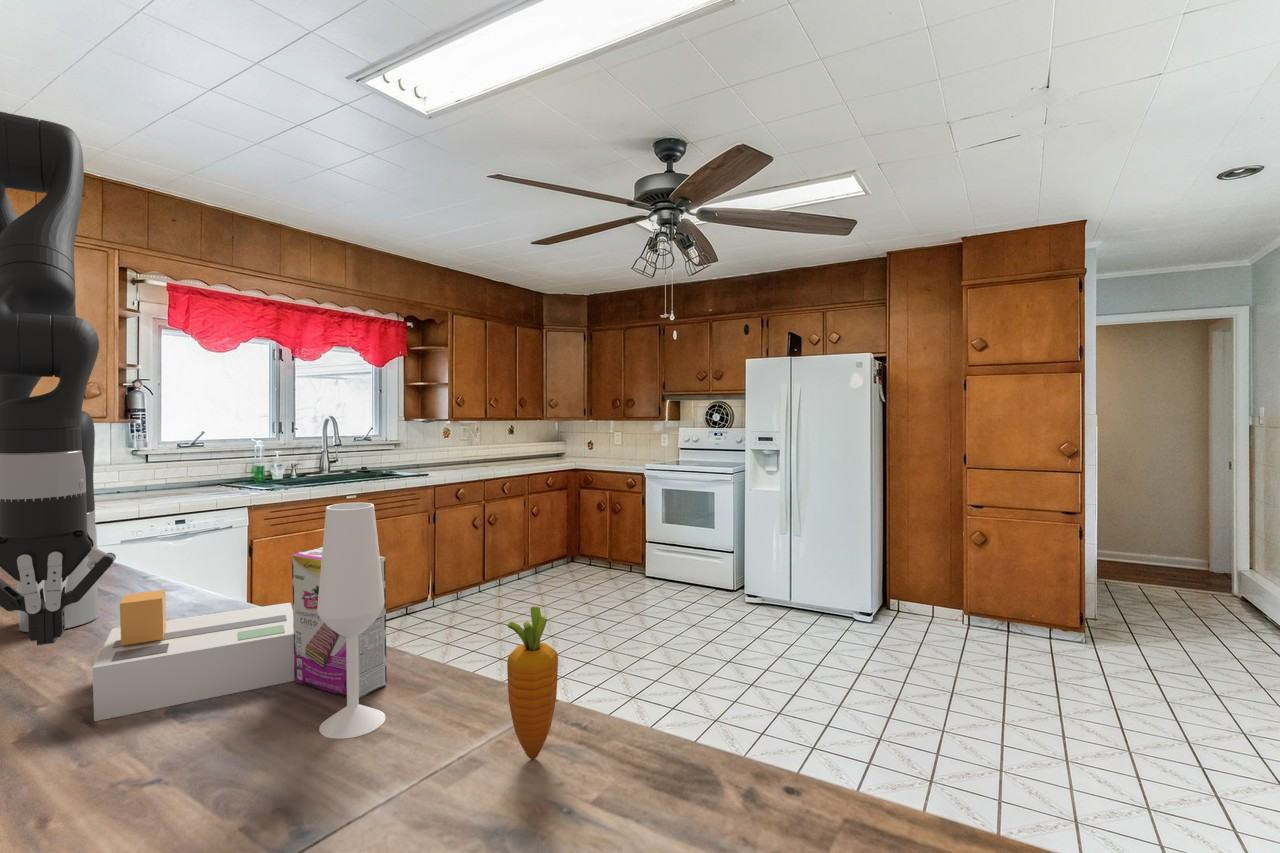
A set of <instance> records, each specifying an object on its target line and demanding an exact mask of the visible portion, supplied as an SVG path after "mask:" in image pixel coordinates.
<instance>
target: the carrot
mask: <svg viewBox="0 0 1280 853" xmlns="http://www.w3.org/2000/svg"><path fill="white" fill-rule="evenodd" d="M530 618H531V624H530V622H529V621H525V622H523V628H524V629H523V628H522V627H521V625H519V624H518V623H516V622H514V621H509V622H508V623H507V628H509V629H511V630H512V631H514V633H516V635H518V637H519V638H520V639H521V642H522V644H519V645H517V646H516V647H515V648H514V649H513V650H512V651H511V653H510V654H509V655H508V657H507V660H506V661H507V662H506V667H507V668H506V670H507V671H506V673H507V693H508V705H509V711H510V715H511V720H512V724H513V729H514V732H515V735H516V737H517V740H518V742H519V744H520V745H521V748H522V750H523V752H524V753H525V755H526V756H527V757H528V758H529V759H530V760H531V761H534V760H535V759H537V757H538V756H539V754H540V753H541V750H542V749H543V747H544V744H546V743H545V742H546V741H547V738H548V735H549V732H550V730H551V726H552V722H553V716H554V713H555V708H556V703H557V702H556V701H557V695H558V694H557V692H558V678H559V677H558V674H559V673H558V672H559V656H558V652H557V651H556V650H555V649H554V648H553V647H551V646H550V645H548V644H547V643H544V642H541V638H542V635H543V633H544V631H545V628H546V625H547V622H548V619H547V617H546V616H544V615H542V612H541V608H540V607H539V606H537V605H533V606H532V607H530Z"/></svg>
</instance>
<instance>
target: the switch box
mask: <svg viewBox="0 0 1280 853" xmlns="http://www.w3.org/2000/svg"><path fill="white" fill-rule="evenodd" d="M293 624H294V623H293V605H292V602H286V603H278V604H272V605H271V604H270V605H265V606H257V607H250V608H245V609H237V610H231V611H223V612H217V613H208V614H202V615H198V616H197V615H196V616H189V617H182V618H175V619H168V620H167V619H166V631H165V635H164V639H160V640H154V641H148V642H141V643H135V644H129V645H122V646H121V628H120V627H113V628H112V629H111V631H110V632H109V635H108V637H107V639H106V641H105V642H104V645H103V646H102V648H101V650H100V652H99V653H98V654H99V655H98V656H97V658H96V660H95V662H94V664H93V666H92V691H93V692H92V694H93V722H98V721H104V720H108V719H109V720H110V719H113V718H119V717H123V716H129V715H133V714H138V713H143V712H147V711H152V710H157V709H162V708H168V707H172V706H177V705H183V704H187V703H192V702H197V701H198V702H199V701H202V700H207V699H210V698H211V699H212V698H217V697H221V696H222V697H223V696H226V695H227V696H228V695H231V694H235V693H236V694H237V693H241V692H245V691H251V690H256V689H261V688H266V687H271V686H275V685H276V686H277V685H280V684H285V683H291V682H295V681H294V680H295V678H294V630H293Z"/></svg>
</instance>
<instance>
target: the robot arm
mask: <svg viewBox="0 0 1280 853" xmlns="http://www.w3.org/2000/svg"><path fill="white" fill-rule="evenodd" d="M82 148H83V147H82V144H81V142H80V139H79V137H78V134H76V132H75V131H74V130H73V129H72V128H70V126H69V127H68V126H66V125H63V124H60V123H57V122H54V121H50V120H44V119H38V118H34V117H33V118H32V117H29V116H23V115H20V114H19V115H18V114H14V113H7V112H4V111H0V568H2V569H3V570H4V571H5V573H7V574H8V575H9V576H10V577H12V578H13V579H14V580H15V581H17V582H16V583H17V584H16V586H17V589H15V588H14V587H12V585H10V584H9V583H7V582H6V581H5V580H4V579H3V578H1V577H0V607H1V608H3V609H4V610H5V611H7V612H13V611H17V614H18V630H19V631H20V632H24V633H28V637H29V639H30V641H31V642H35V641H36V645H37V646H43V645H49V644H55V643H56V641H57V640H58V638H61V637H62V635H63V634H64V632H65V631H66V629H71V628H74V627H77V626H80V625H81V626H82V625H84V624H88V623H90V622H92V621H94V620H95V619H97V618H98V617H99V601H98V600H99V599H98V581H99V579H100V578H101V577H102V576H103V575H104V573H105V572H106V571H107V570H108V569H109V568H110V567H111V566H112V565H113V563H114V562H115V560H116V559H117V556H116V554H115V553H113V552H105V551H103V550H100V549H99V548H97V536H96V534H97V533H96V505H95V502H96V501H95V490H94V487H95V486H94V468H95V444H96V443H95V442H96V441H95V438H96V437H95V436H96V435H95V434H96V430H95V424H94V421H93V418H92V416H91V415H90V414H89V412H87V411H85V410H83V403H84V398H85V393H86V390H87V386H88V384H89V381H90V379H91V376H92V372H93V370H94V367H95V364H96V362H97V358H98V354H99V350H100V340H99V336H98V333H97V331H96V330H95V328H94V327H93V326H92V324H91V323H90V322H88V321H87V320H85V319H84V318H82V317H79V316H77V309H76V294H77V293H76V277H75V243H76V237H77V236H76V235H77V231H78V226H79V219H80V215H81V214H80V213H81V206H82V198H83V189H84V188H83V187H84V180H85V179H84V175H85V174H84V173H85V171H84V170H85V168H84V166H85V165H84V154H83V149H82ZM7 189H13V190H18V191H19V190H20V191H27V192H34V193H41V194H44V193H45V196H44V197H43V198H41V200H40V201H38V202H37V203H36V204H35V205H33V207H31V208H30V209H28V210H27V211H25V212H24V213H22V214H21V215H19V216H18V214H17V212H16V211H15V209H14V206H13V205H12V202H11V199H10V197H9V195H8V192H7ZM44 377H45V378H53V377H54V378H58V379H59V380H58V384H57V386H56V387H55V388H53V389H52V390H51V391H49V392H46V393H44V394H39V395H35V396H31V394H32V392H33V390H35V388H36V386H37V385H38V383H39V381H40V380H41V378H44ZM1 574H2V571H1V570H0V575H1Z"/></svg>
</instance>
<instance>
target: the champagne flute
mask: <svg viewBox="0 0 1280 853" xmlns="http://www.w3.org/2000/svg"><path fill="white" fill-rule="evenodd" d="M323 528H324V529H323V539H322V540H323V541H322V547H323V549H322V560H321V572H320V583H319V594H318V606H317V611H318V615H319V616H320V618H321V620H322V621H323V622H324V623H325V624H326V625H327V626H328V627H329V628H331V629H332V630H334V631H335V632H336V633H338V634H339V635H341V636H344V637H346V667H347V697H346V706H345V707H343V708H341V709H340V710H338V711H337V712H336V713H335V712H334V714H332V715H331V716H329V717H327V718H326V719H325V720H324V721H323V722H322V723H321V724H320V725H319V728H318V730H319V733H320V734H321V735H322V736H323V737H325V738H329V739H338V740H341V739H342V740H343V739H351V738H356V737H357V738H358V737H360V736H364V735H367V734H369V733H371V732H373V731H375V730H377V729H378V728H380V727H381V726H382V725H383V724H384V722H385V721H386V714H385V713H384V712H383V711H381V710H379V709H377V708H373V707H370V706H366V705H363V704H361V703H360V702H359V700H360V699H359V693H358V635H360V634H361V633H363V632H364V631H365V630H366V629H367V628H368V627H369V626H370V625H371V624H372V623H373V622H374V621H375V620H376V619H377V617H378V616H379V615H380V613H381V611H382V609H383V607H384V603H385V600H384V591H383V582H382V573H381V564H380V556H381V555H380V548H379V539H378V532H377V531H378V530H377V520H376V513H375V505H374V503H370V502H346V503H345V502H344V503H336V504H331V505H328V506H326V507H325V517H324V527H323Z"/></svg>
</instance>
